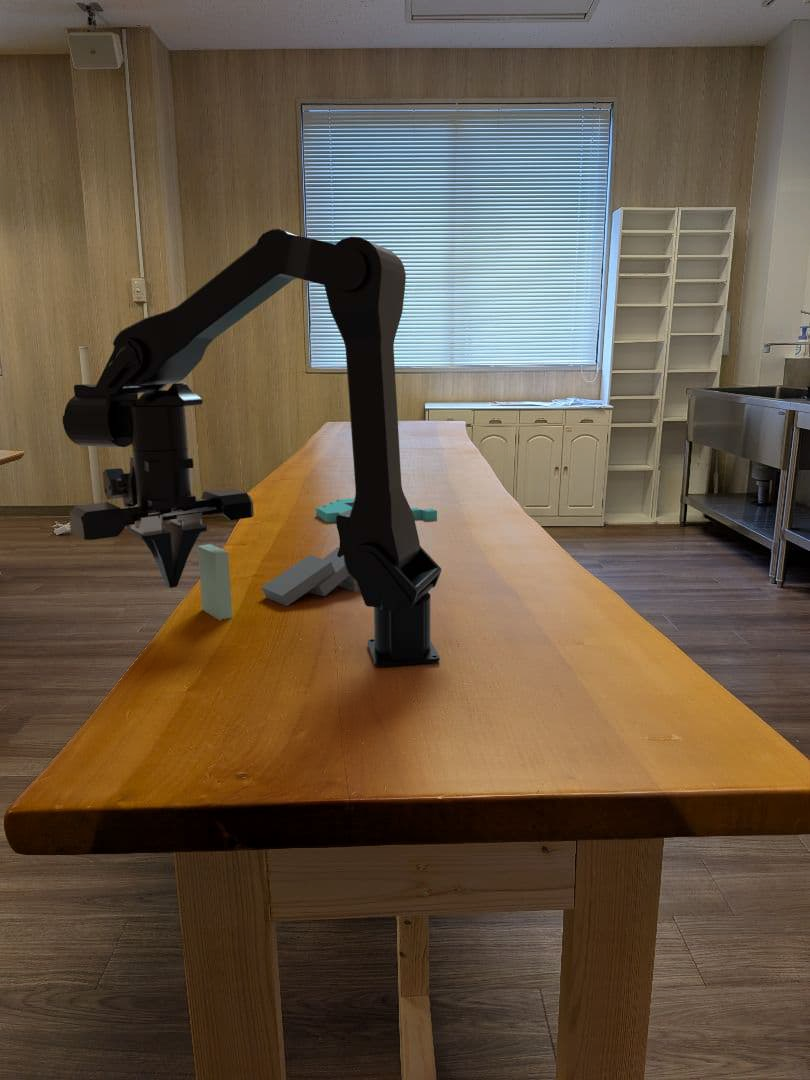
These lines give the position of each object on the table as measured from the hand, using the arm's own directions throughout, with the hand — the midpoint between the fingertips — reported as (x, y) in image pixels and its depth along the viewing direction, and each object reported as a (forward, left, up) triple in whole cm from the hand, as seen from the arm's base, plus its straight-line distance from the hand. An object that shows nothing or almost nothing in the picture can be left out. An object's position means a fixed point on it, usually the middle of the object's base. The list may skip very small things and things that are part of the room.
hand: (172, 586), depth 82 cm
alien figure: (+59, -30, -5) cm, 67 cm away
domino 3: (+11, -21, -3) cm, 24 cm away
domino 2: (+8, -16, -4) cm, 18 cm away
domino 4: (+11, -20, -5) cm, 24 cm away
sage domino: (+3, -4, -5) cm, 7 cm away
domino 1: (+6, -11, -4) cm, 13 cm away
